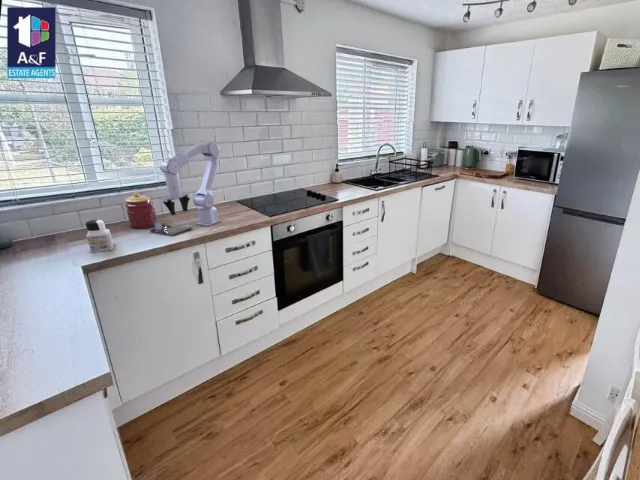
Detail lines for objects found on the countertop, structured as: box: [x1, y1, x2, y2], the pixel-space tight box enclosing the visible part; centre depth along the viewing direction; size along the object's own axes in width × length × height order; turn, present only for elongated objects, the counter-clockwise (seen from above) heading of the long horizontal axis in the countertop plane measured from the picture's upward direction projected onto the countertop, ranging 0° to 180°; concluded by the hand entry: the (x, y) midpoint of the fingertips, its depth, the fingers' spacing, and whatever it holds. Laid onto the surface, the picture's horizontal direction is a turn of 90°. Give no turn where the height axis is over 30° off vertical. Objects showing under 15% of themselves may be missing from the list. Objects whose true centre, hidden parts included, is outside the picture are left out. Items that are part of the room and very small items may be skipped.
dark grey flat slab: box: [150, 223, 192, 237], centre depth 193 cm, size 12×15×1 cm
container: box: [85, 219, 115, 253], centre depth 165 cm, size 8×8×13 cm
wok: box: [152, 219, 171, 230], centre depth 190 cm, size 6×10×4 cm, turn 70°
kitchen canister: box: [124, 191, 158, 229], centre depth 196 cm, size 13×13×18 cm
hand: (179, 213), depth 190 cm, fingers open, 7 cm apart
